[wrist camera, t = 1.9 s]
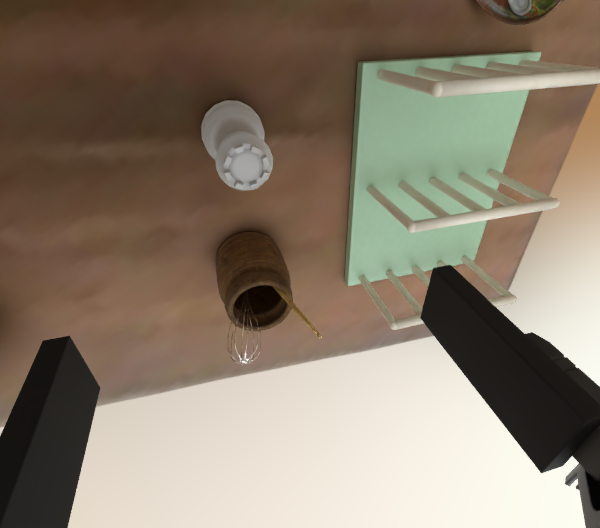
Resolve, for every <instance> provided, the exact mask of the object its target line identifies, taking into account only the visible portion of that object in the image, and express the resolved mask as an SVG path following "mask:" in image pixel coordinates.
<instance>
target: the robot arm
mask: <svg viewBox="0 0 600 528" xmlns="http://www.w3.org/2000/svg"><path fill="white" fill-rule="evenodd" d="M420 318H421V320H422V321H423V322H424V323H425V325H426V326H427V327H428V329H429V330H430V331H431V332H432V334H433V335H434V336H435V337H436V339H437V340H438V341H439V343H440V344H441V345H442V346H443V348H444V349H445V350H446V352H447V353H448V354H449V355H450V357H451V358H452V359H453V361H454V362H455V363H456V364H457V366H458V367H459V368H460V369H461V370H462V372H463V373H464V375H465V376H466V377H467V378H468V380H469V381H470V382H471V384H472V385H473V386H474V387H475V388H476V390H477V391H478V392H479V394H480V395H481V396H482V398H483V399H484V400H485V401H486V403H487V404H488V405H489V406H490V408H491V409H492V410H493V412H494V413H495V414H496V415H497V417H498V418H499V419H500V421H501V422H502V423H503V424H504V426H505V427H506V428H507V430H508V431H509V432H510V433H511V435H512V436H513V437H514V439H515V440H516V441H517V442H518V444H519V445H520V446H521V448H522V449H523V450H524V451H525V452H526V454H527V455H528V456H529V458H530V459H531V460H532V461H533V463H534V464H535V465H536V467H537V468H538V469H539V471H540V472H541V473H543V472H546V471H549V470H552V469H555V468H558V467H561V466H563V465H564V464H565V463H566V462H567V461H568V460H569V458H570V457H571V456H573V457H574V458H575V459H576V460H577V461H578V462H579V464H578V465H577V466H576V467H575V468H574V469H573V470H572V471H571V473H570V474H569V475H568V476H567V477H566V482H565V484H566V485H568V486H570V485H571V484H572V483H573V482H574V481H575V480H576V479H577V478H578V485H577V486H576V489H579V490H580V495H581V501H582V507H583V513H584V518H585V525H586V528H600V387H599V386H598V385H597V384H596V383H594V381H592V380H591V379H590V378H589V377H588V376H587V375H586V374H585V373H583V372H582V371H581V370H580V369H579V368H576V367H575V365H574V364H573V363H572V362H571V361H570V360H569V359H568V358H565V357H564V355H563V354H562V353H561V352H560V351H559V350H558V349H556V348H555V347H554V346H553V345H552V344H551V343H550V342H548V341H546V340H545V339H543V338H541V337H539V336H538V335H536V334H534V333H528V334H524V333H523V332H522V331H521V330H520V329H518V327H516V326H515V325H514V324H513V323H512V322H511V321H510V320H509V319H508V318H507V317H506V316H504V314H502V313H501V312H500V311H499V310H498V309H497V308H496V307H495V306H494V305H493V304H492V303H491V302H490V301H489V300H487V299H486V298H485V297H484V296H483V295H482V294H481V293H480V292H479V291H478V290H477V289H476V288H475V287H474V286H472V285H471V284H470V283H469V282H468V281H467V280H466V279H465V278H464V277H463V276H462V275H461V274H460V273H459V272H457V271H456V270H455V269H454V268H453V267H452V266H451V265H446V266H441V267H436V268H433V271H432V275H431V279H430V282H429V286H428V290H427V294H426V298H425V301H424V305H423V309H422V313H421V317H420ZM99 391H100V387H99V385H98V383H97V381H96V380H95V378H94V376H93V375H92V373H91V371H90V370H89V368H88V366H87V364H86V363H85V361H84V359H83V358H82V356H81V354H80V353H79V351H78V349H77V348H76V346H75V344H74V342H73V341H72V339H71V337H70V336H66V337H61V338H56V339H50V340H45V341H43V342H42V344H41V346H40V349H39V351H38V353H37V355H36V358H35V360H34V362H33V364H32V366H31V369H30V371H29V373H28V375H27V378H26V380H25V382H24V384H23V387H22V389H21V391H20V393H19V396H18V398H17V400H16V402H15V405H14V407H13V409H12V411H11V414H10V416H9V418H8V420H7V422H6V425H5V427H4V429H3V431H2V434H1V436H0V528H67V527H68V522H69V518H70V514H71V510H72V506H73V501H74V497H75V493H76V488H77V484H78V480H79V476H80V472H81V467H82V462H83V459H84V455H85V450H86V446H87V442H88V437H89V433H90V429H91V425H92V420H93V416H94V412H95V408H96V403H97V399H98V395H99Z"/></svg>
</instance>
